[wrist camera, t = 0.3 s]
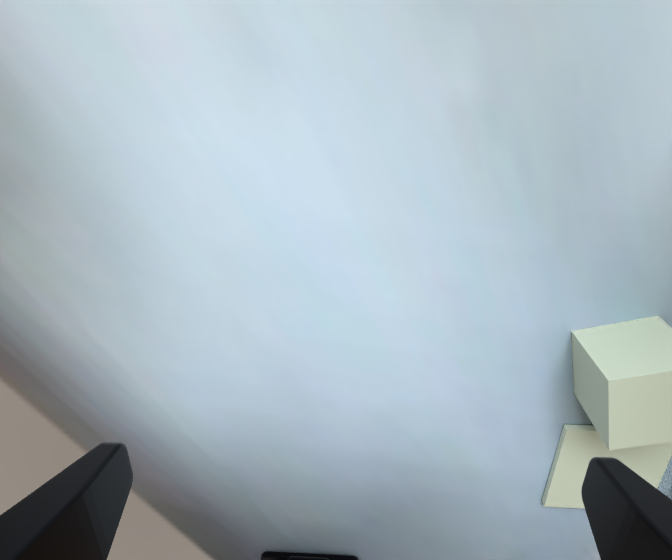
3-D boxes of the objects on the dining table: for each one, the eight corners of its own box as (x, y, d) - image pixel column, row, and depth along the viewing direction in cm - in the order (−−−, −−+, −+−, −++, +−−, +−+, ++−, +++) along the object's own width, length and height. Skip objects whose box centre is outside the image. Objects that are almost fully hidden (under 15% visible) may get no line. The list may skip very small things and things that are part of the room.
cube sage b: (654, 380, 25) (704, 436, 21) (573, 393, 25) (608, 450, 22) (656, 314, 23) (712, 364, 19) (570, 330, 24) (608, 380, 20)
